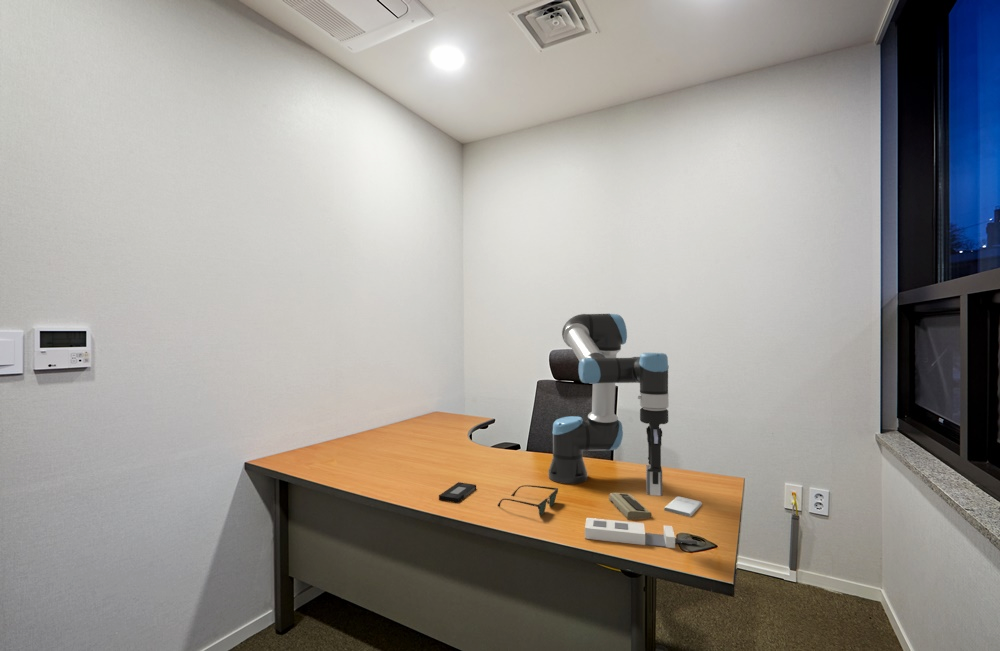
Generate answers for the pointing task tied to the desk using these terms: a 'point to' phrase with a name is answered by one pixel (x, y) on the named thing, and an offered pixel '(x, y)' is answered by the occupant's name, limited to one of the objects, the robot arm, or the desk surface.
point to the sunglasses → (543, 503)
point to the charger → (649, 480)
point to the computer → (629, 506)
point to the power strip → (630, 533)
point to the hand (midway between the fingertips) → (654, 491)
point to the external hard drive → (683, 506)
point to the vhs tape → (457, 492)
